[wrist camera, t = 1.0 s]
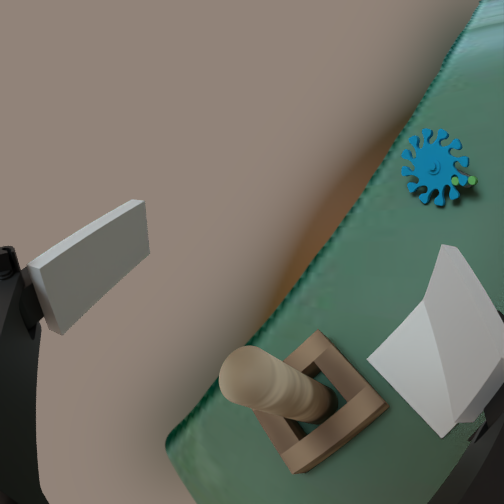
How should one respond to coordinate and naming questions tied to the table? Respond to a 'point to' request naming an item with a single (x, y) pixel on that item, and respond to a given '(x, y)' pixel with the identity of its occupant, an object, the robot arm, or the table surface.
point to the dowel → (274, 387)
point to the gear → (436, 167)
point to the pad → (416, 369)
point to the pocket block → (338, 425)
